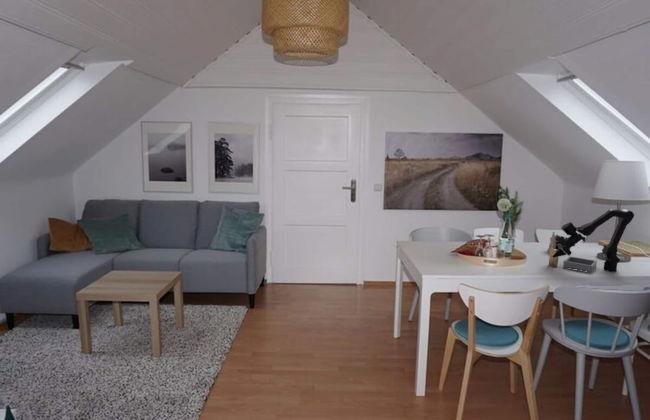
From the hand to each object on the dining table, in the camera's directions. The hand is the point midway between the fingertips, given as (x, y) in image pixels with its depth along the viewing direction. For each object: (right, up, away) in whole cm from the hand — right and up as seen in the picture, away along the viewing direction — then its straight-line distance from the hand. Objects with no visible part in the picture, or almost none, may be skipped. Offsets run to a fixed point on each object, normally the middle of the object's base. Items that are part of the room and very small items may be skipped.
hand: (551, 255), depth 299 cm
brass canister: (+1, -7, +1) cm, 7 cm away
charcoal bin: (+17, -7, -2) cm, 19 cm away
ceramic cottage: (+23, -2, +35) cm, 42 cm away
